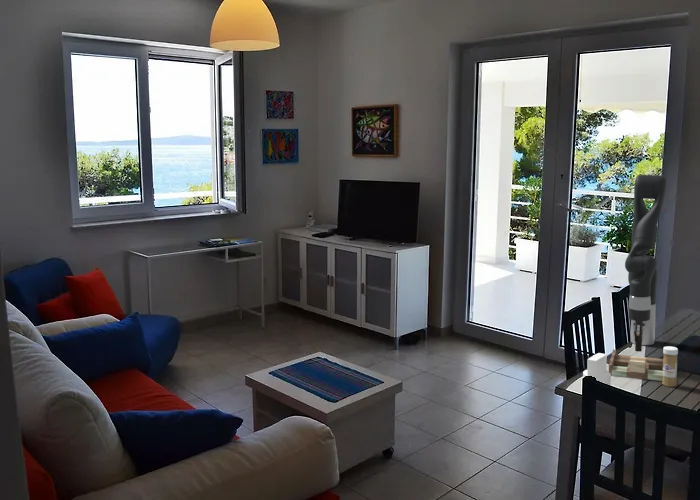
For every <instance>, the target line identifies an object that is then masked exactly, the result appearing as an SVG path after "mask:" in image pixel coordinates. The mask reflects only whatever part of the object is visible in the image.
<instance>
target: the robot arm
mask: <svg viewBox="0 0 700 500" xmlns="http://www.w3.org/2000/svg"><path fill="white" fill-rule="evenodd" d="M667 183H668V182H667V178H666V176H664V175H659V174H657V175H656V174H638V175H637V176H636V177H635V180H634V184H633V185H634V186H633V187H634V188H633V195H634V196H633V204H634V205H633V220H632V227H631V228H632V229H631V247H630V251H629V253H628V254H627V257H626V259H625V262H624V269H625V270H626V271H627V273H628V275H627V277H628V278H627V279H628V285H629V299H628V319H629V320H630V343H632V344H634V346H635V347H634V348H635V352H640V353H641V352H642V349H643V348H642V347H643V346H650V345H654V344H655V334H656V308H657V307H656V299H657V297H656V296H657V282H658V269H657V265H658V264H657V263H658V262H657V260H656V258H655V257H654V256H653V255H649V254H648V253H649V252H650V251H652V250H653V249H654V247H655V245H656V243H657V240H658V230H659V229H658V227H659V226H658V223H659V219H660V215H661V213H662V208H663V205H664V200H665V197H666V192H667V185H668V184H667ZM644 199H645V200H654V201H653V205H652V206H651V208H650V209H649V210H648V208H647V206H646V204H645V200H644Z"/></svg>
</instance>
